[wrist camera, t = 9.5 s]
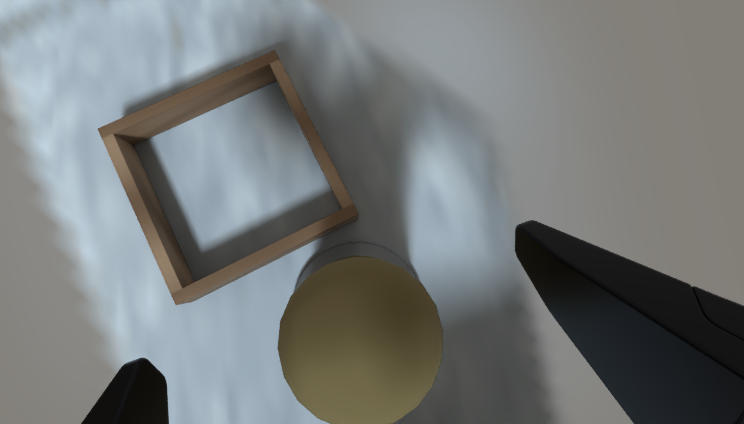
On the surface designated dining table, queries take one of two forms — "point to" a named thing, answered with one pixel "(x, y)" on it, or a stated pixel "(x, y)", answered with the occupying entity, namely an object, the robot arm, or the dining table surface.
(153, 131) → the frame
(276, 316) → the dining table surface
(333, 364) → the cork
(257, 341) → the dining table surface
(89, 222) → the dining table surface
